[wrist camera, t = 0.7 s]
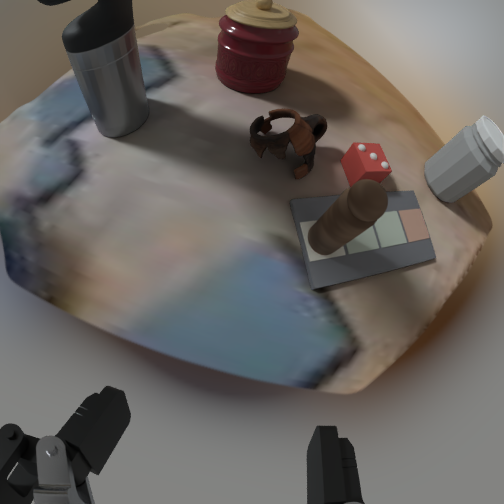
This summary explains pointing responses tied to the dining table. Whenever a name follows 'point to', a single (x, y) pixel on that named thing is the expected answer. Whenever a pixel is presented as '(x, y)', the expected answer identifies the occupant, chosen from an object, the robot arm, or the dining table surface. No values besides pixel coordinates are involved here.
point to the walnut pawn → (348, 216)
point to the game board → (365, 241)
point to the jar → (466, 161)
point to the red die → (365, 163)
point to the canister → (255, 45)
